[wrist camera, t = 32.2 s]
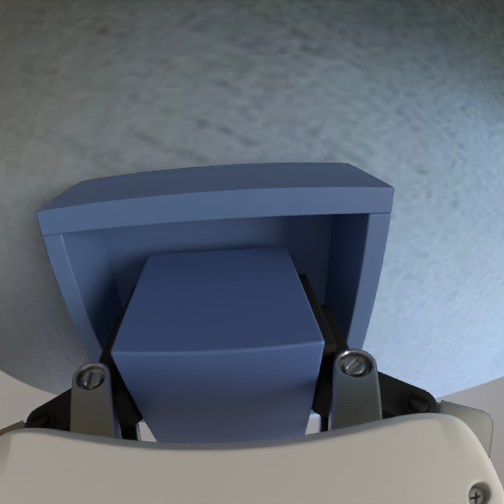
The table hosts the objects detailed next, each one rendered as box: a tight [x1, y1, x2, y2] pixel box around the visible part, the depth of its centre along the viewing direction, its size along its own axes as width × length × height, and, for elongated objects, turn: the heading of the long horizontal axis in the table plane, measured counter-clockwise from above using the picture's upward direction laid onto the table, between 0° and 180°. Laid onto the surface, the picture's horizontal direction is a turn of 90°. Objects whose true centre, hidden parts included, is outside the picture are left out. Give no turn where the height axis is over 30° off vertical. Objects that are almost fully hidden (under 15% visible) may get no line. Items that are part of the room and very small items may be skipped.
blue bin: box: [36, 163, 394, 422], centre depth 12 cm, size 11×11×4 cm
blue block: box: [111, 246, 325, 443], centre depth 10 cm, size 5×5×5 cm
